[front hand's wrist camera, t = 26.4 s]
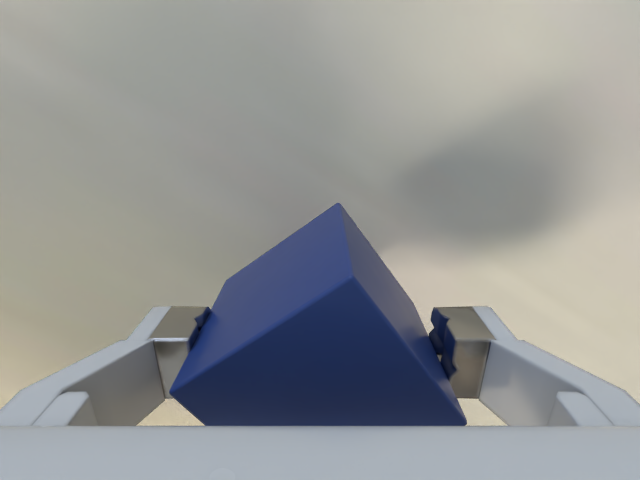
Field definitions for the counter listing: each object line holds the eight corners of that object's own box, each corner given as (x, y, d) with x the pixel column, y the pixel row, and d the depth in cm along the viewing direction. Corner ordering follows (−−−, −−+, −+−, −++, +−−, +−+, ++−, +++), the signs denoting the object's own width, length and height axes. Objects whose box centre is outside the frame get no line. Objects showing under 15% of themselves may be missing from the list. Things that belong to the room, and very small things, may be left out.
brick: (413, 303, 12) (469, 425, 8) (305, 367, 13) (298, 508, 9) (338, 201, 11) (352, 275, 6) (225, 280, 12) (165, 394, 7)
